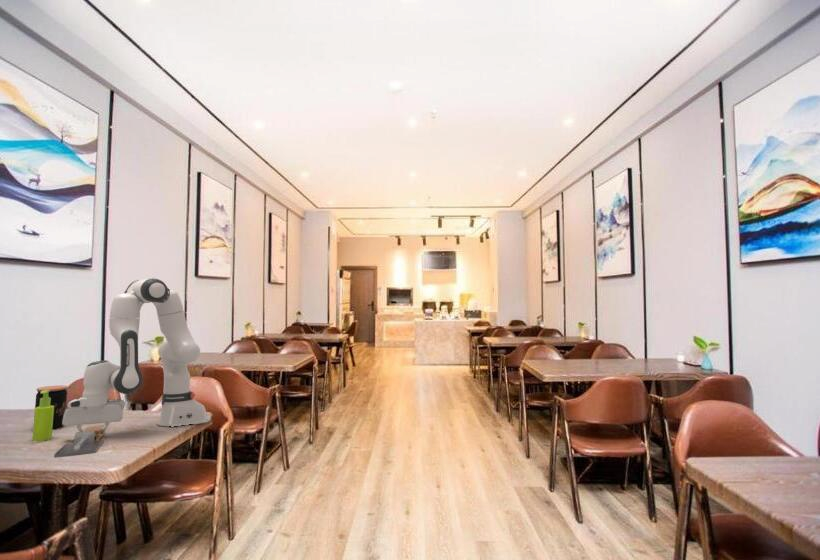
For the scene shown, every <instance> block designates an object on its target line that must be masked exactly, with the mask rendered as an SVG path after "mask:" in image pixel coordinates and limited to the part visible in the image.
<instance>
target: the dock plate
mask: <svg viewBox="0 0 820 560" xmlns="http://www.w3.org/2000/svg"><path fill="white" fill-rule="evenodd" d="M95 439H96V435H95V431H84V432H79V431H76V432H75V433H74V439H73V440H74V442H69V443H65V444H64V445H63V446H61V448H59V450H57V452H56V453H54V456H53V457H54V458H62V457H69V456H70V457H71V456H78V455H79V456H80V455H87V454H96V452H98V450H99V449H100V448H101V446H102V444H104V439H99V440H97V441H96V440H95Z"/></svg>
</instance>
